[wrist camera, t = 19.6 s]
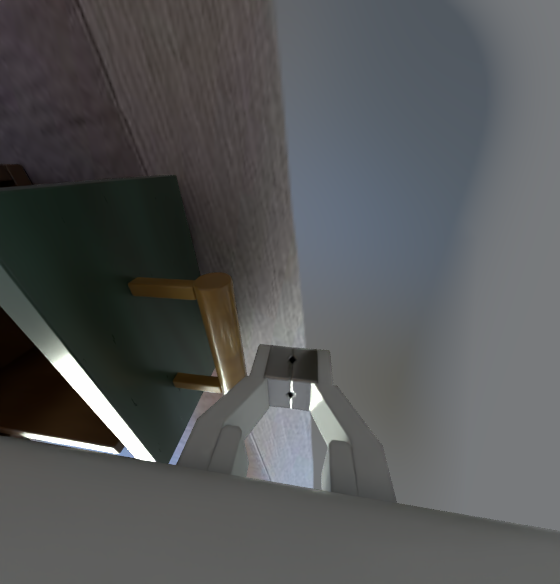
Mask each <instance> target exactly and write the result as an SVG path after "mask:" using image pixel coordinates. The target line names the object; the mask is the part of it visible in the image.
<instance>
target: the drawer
mask: <svg viewBox="0 0 560 584" xmlns="http://www.w3.org/2000/svg"><path fill="white" fill-rule="evenodd" d="M214 368H216V371H217V375H218V377H214V376H211V375H212V373H213V371H214ZM245 376H247V372H246V365H245V359H244V352H243V346H242V339H241V333H240V327H239V320H238V314H237V307H236V301H235V294H234V288H233V281H232V278H231V276H230V275H228V274H226V273H221V272H214V273H208V274H205V275H202V276H200V272H199V268H198V264H197V259H196V255H195V251H194V247H193V243H192V239H191V235H190V231H189V227H188V223H187V218H186V214H185V210H184V206H183V202H182V198H181V194H180V190H179V186H178V182H177V178H176V175H151V176H139V177H126V178H114V179H102V180H89V181H77V182H65V183H52V184H40V185H27V186H15V187H3V188H0V433H5V434H10V435H16V436H22V437H27V438H33V439H39V440H44V441H50V442H56V443H61V444H67V445H72V446H78V447H84V448H89V449H95V450H101V451H106V452H112V453H120V452H121V451H122V450H123V448H124V447H125V446H126V448H127V449H128V450H129V451H130V452H131V453H132V454H133V455H134V456H135V458H136V459H142V460H148V461H153V462H159V463H165V464H168V463H169V461H170V459H171V457H172V455H173V453H174V451H175V449H176V447H177V445H178V443H179V441H180V439H181V437H182V435H183V433H184V430H185V428H186V426H187V424H188V422H189V420H190V418H191V416H192V414H193V412H194V410H195V408H196V406H197V404H198V402H199V399H200V397H201V395H202V393H203V391H207V392H215V393H223V396H224V395H225V394H226V393H227V392H228V391H229V390H231V389H232V388H233V387H234V386H235V385H236V384H237V383H238V382H240V381H241V380H242V379H243V378H244V377H245Z"/></svg>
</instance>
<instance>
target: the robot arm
mask: <svg viewBox="0 0 560 584" xmlns="http://www.w3.org/2000/svg"><path fill="white" fill-rule="evenodd" d="M269 406H273V407H283V408H292V409H299V410H305V411H311V414H312V416H313V418H314V420H315V422H316V424H317V426H318V428H319V430H320V432H321V434H322V436H323V438H324V440H325V442H326V444H327V446H328V449H327V453H326V458H325V462H324V466H323V470H322V475H321V479H322V490H317V489H312V488H306V487H300V486H294V485H288V484H282V483H276V482H271V481H265V480H259V479H253V478H247V477H246V475H247V470H248V465H249V461H248V457H247V452H246V448H245V443H244V440H245V439H246V437H247V436H248V435H249V433H250V432H251V431H252V430H253V428H254V427H255V426H256V424H257V423H258V422H259V420H260V419H261V418H262V417H263V415H264V414H265V413H266V411H267V410H268V409H269ZM0 584H560V531H557V530H551V529H545V528H540V527H534V526H528V525H521V524H516V523H510V522H505V521H499V520H493V519H487V518H480V517H475V516H469V515H464V514H458V513H452V512H445V511H440V510H434V509H428V508H423V507H417V506H411V505H405V504H399V503H397V501H396V497H395V493H394V489H393V485H392V481H391V477H390V473H389V469H388V465H387V461H386V457H385V453H384V449H383V445H382V444H381V443H380V442H379V440H378V439H377V437H376V436H375V435H374V434H373V432H372V431H371V430H370V429H369V427H368V426H367V424H366V423H365V422H364V421H363V419H362V418H361V416H360V415H359V414H358V413H357V411H356V410H355V409H354V408H353V406H352V405H351V403H350V402H349V401H348V399H347V398H346V397H345V396H344V394H343V393H342V392H341V390H340V389H339V388H338V386H335V385H333V378H332V367H331V356H330V351H329V350H317V349H306V348H291V347H283V346H274V345H264V344H260V345H259V347H258V350H257V353H256V356H255V360H254V363H253V366H252V370H251V373H250V376H245V377H244V378H243V379H242V380H241V381H240V382H238V383H237V384H236V385H235V386H234V387H233V388H232V389H231V390H229V391H228V392H227V393H226V394H225V395H224V396H223V397H222V398H220V399H219V400H218V401H217V402H216V403H215V404H214V405H213V406H211V407H210V408H209V409H208V410H207V411H206V412H205V413H203V414H202V415H201V416H200V417H199V418H198V419H197V421H196V423H195V425H194V427H193V429H192V431H191V434H190V436H189V438H188V440H187V442H186V445H185V447H184V449H183V451H182V453H181V456H180V458H179V460H178V462H177V464H176V465H171V464H165V463H159V462H153V461H148V460H142V459H136V458H130V457H124V456H118V455H112V454H107V453H101V452H95V451H89V450H83V449H77V448H71V447H66V446H60V445H54V444H48V443H42V442H36V441H30V440H25V439H19V438H13V437H7V436H1V435H0Z"/></svg>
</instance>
